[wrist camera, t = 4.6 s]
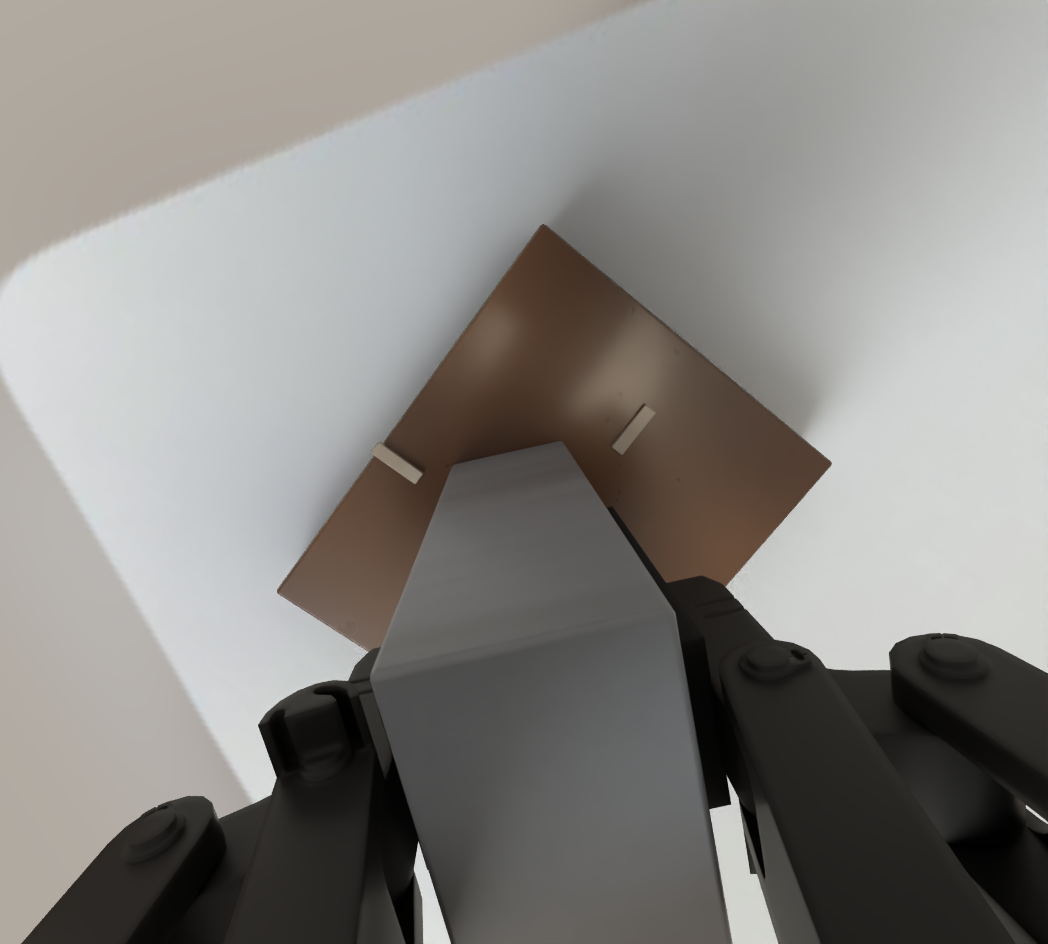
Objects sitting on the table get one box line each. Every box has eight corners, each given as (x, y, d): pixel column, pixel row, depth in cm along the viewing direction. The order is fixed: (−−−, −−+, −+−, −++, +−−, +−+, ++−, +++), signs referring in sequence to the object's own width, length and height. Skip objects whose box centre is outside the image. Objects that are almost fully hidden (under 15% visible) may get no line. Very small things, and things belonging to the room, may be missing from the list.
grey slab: (451, 464, 15) (358, 690, 5) (562, 439, 15) (684, 620, 5) (501, 665, 17) (505, 1155, 7) (604, 643, 16) (765, 1099, 6)
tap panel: (534, 234, 16) (539, 217, 14) (799, 452, 18) (840, 466, 16) (294, 566, 18) (267, 596, 16) (556, 736, 19) (562, 784, 17)
